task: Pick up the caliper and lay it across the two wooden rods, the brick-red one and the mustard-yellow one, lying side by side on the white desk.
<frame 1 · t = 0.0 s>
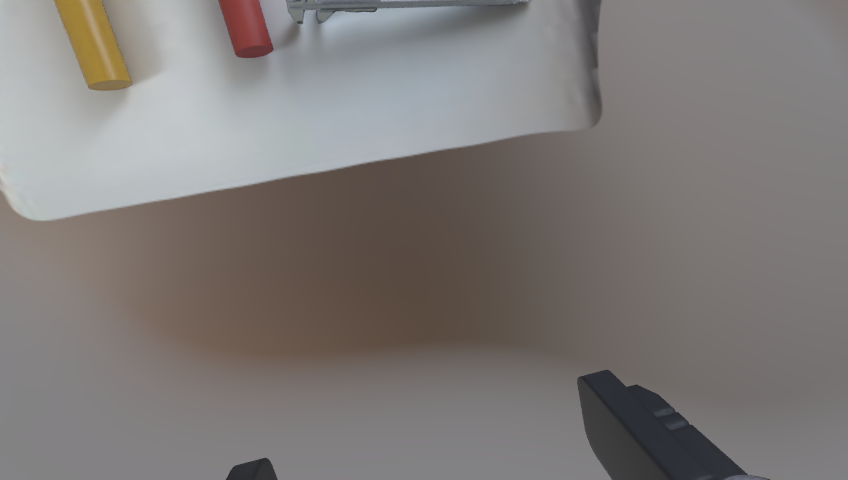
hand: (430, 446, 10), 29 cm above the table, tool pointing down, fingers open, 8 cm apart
yellow rod: (99, 26, 33), on the table
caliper: (414, 8, 35), on the table
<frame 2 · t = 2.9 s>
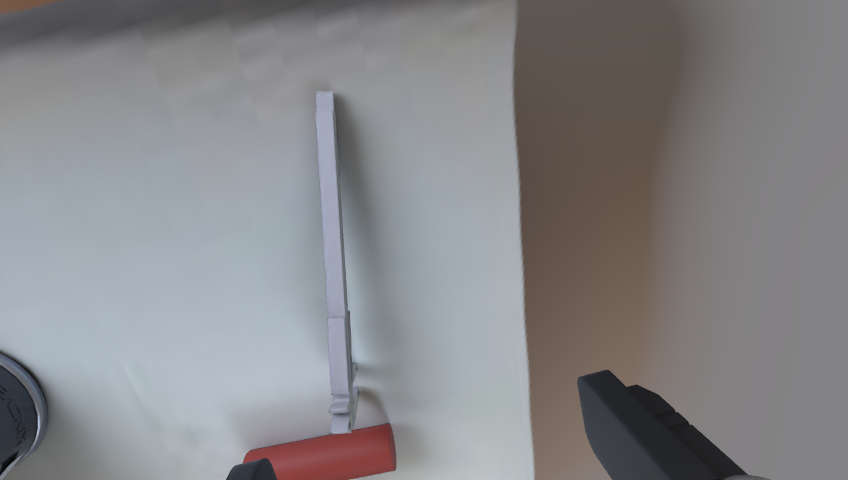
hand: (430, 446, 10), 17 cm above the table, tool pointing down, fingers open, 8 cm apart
red rod: (325, 445, 29), on the table
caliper: (340, 252, 27), on the table
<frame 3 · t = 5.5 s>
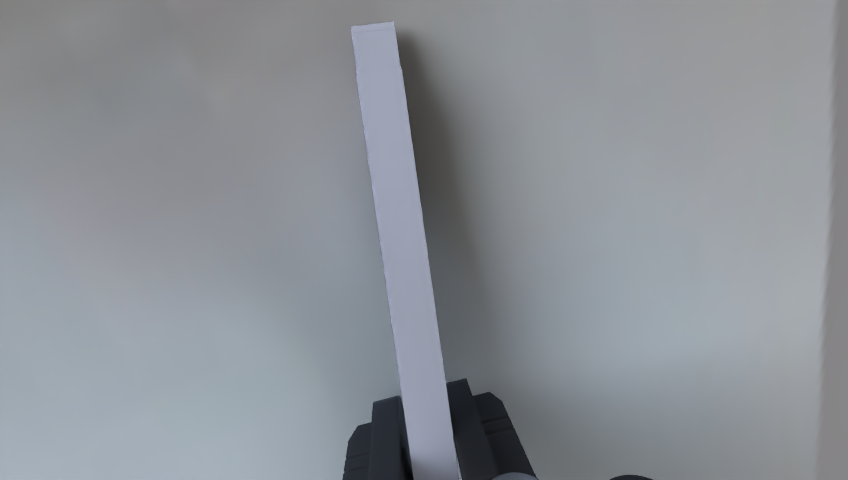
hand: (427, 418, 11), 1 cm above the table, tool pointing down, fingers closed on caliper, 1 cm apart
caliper: (426, 402, 12), on the table, touching gripper
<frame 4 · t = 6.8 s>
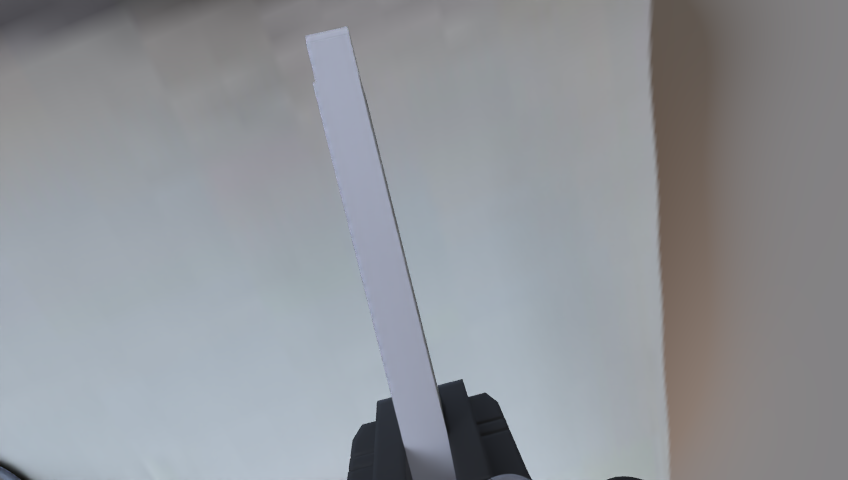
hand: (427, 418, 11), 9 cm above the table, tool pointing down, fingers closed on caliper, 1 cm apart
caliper: (425, 399, 12), point 8 cm above the table, touching gripper
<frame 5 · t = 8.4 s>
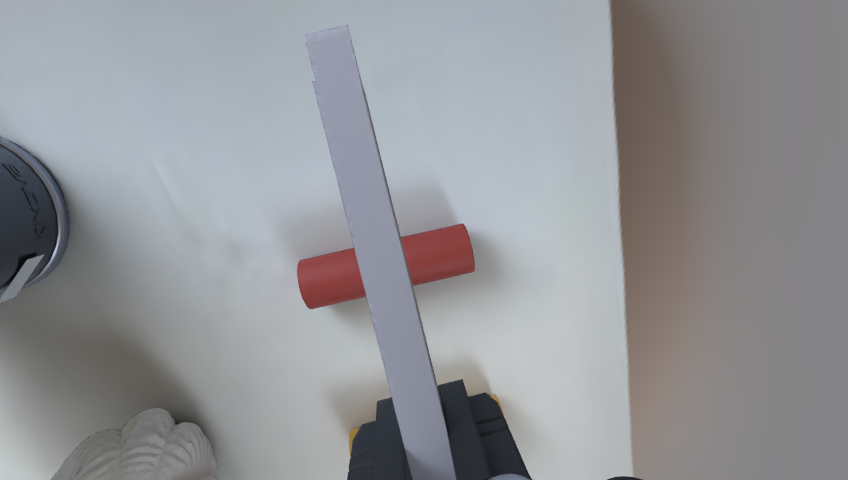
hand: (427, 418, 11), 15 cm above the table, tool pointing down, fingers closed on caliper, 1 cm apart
red rod: (387, 259, 26), on the table
fossil replica: (168, 468, 28), on the table
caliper: (425, 399, 12), point 14 cm above the table, touching gripper
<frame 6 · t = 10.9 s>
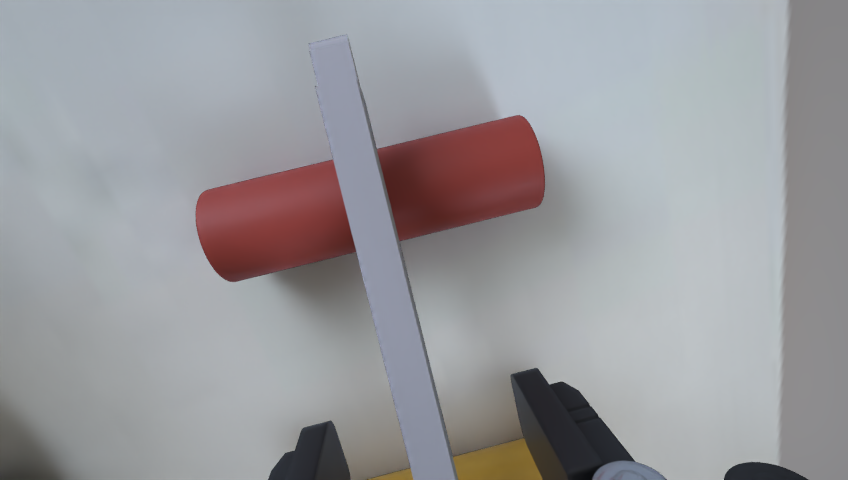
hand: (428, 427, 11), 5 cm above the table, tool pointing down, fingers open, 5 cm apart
red rod: (378, 194, 14), on the table
yellow rod: (450, 471, 17), on the table
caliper: (421, 380, 13), point 3 cm above the table, touching red rod, yellow rod
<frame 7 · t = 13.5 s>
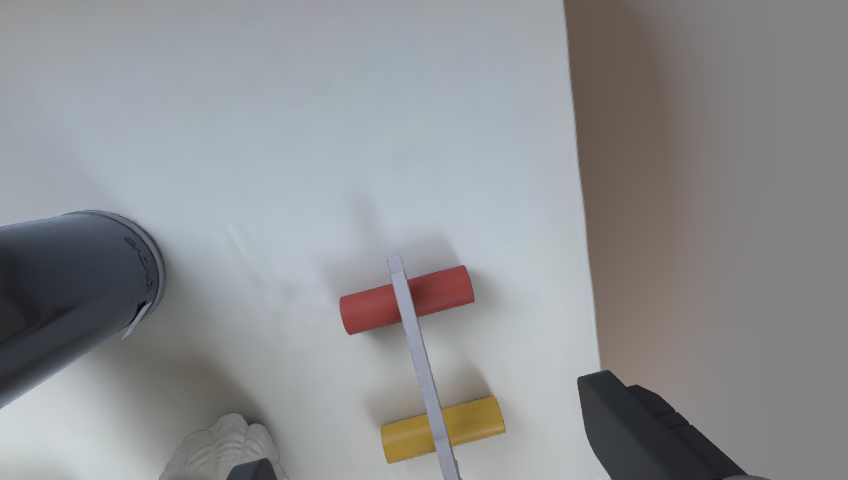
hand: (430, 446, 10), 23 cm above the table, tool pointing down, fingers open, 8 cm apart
red rod: (406, 293, 33), on the table
fossil replica: (239, 460, 35), on the table
yellow rod: (441, 417, 35), on the table
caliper: (426, 373, 31), point 3 cm above the table, touching red rod, yellow rod
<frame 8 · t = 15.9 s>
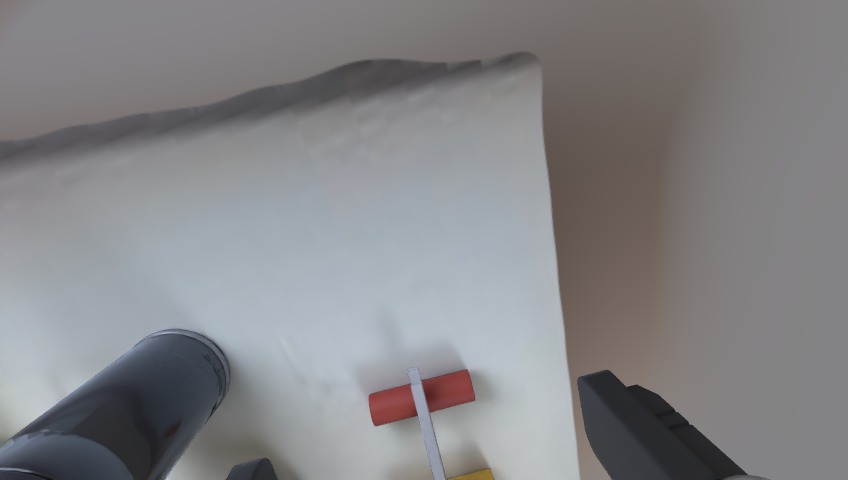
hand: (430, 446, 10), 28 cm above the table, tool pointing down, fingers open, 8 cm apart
red rod: (421, 388, 41), on the table
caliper: (436, 456, 39), point 3 cm above the table, touching red rod, yellow rod
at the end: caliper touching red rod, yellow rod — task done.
